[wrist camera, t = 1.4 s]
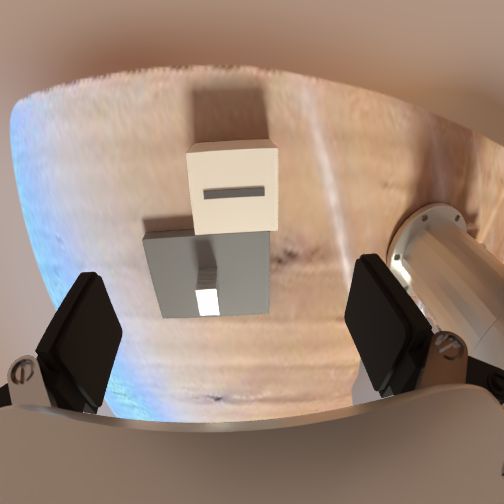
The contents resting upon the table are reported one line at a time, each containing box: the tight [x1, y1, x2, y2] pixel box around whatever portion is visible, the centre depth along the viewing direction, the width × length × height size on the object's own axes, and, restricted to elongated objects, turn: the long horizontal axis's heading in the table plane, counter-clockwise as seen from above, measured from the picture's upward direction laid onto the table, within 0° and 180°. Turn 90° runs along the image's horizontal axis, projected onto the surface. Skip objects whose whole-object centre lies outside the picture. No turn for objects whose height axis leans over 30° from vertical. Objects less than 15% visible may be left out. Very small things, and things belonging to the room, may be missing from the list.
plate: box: [142, 229, 270, 318], centre depth 29 cm, size 12×10×2 cm
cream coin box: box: [186, 139, 278, 235], centre depth 22 cm, size 6×6×5 cm
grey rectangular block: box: [195, 267, 220, 315], centre depth 27 cm, size 2×3×4 cm, turn 2°
